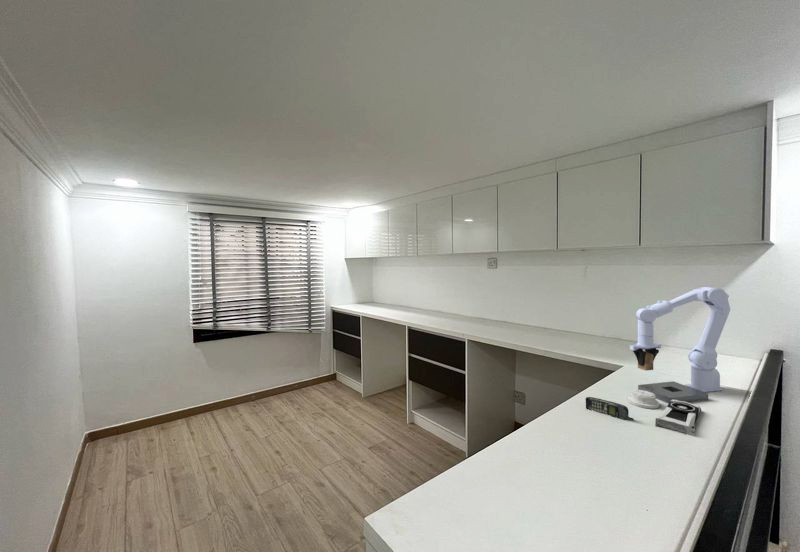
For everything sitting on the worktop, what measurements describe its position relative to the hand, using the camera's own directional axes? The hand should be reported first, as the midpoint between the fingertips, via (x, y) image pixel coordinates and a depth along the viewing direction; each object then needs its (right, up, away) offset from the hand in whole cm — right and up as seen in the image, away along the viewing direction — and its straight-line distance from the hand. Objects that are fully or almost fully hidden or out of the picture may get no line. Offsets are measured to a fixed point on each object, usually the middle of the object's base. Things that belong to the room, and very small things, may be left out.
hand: (645, 364), depth 147 cm
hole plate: (+1, -9, -13) cm, 16 cm away
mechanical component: (-15, -10, -19) cm, 27 cm away
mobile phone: (-34, -11, -27) cm, 45 cm away
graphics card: (-12, -11, -32) cm, 36 cm away
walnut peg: (0, -2, 0) cm, 2 cm away
